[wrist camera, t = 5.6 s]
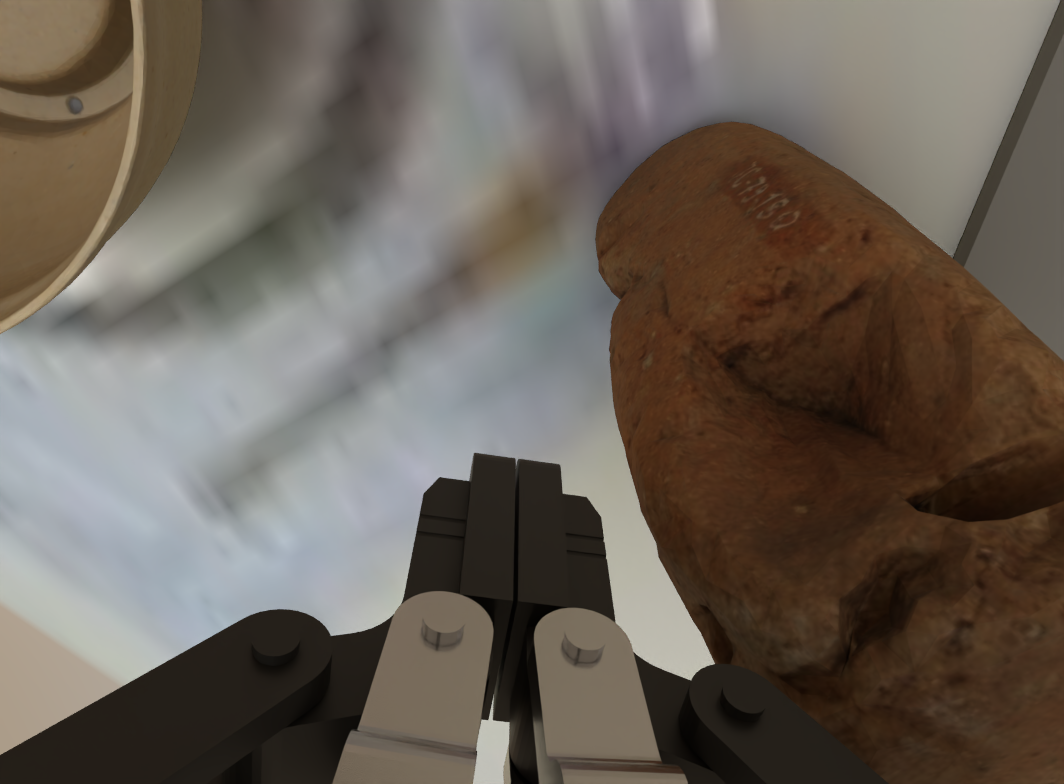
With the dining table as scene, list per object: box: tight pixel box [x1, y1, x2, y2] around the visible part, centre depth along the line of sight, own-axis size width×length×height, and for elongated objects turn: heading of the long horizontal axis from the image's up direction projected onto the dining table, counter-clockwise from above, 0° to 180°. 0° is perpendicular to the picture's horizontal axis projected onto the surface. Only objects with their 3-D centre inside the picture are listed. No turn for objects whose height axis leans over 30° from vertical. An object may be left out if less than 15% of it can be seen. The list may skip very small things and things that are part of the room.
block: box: [595, 122, 1064, 784], centre depth 19 cm, size 11×8×20 cm
